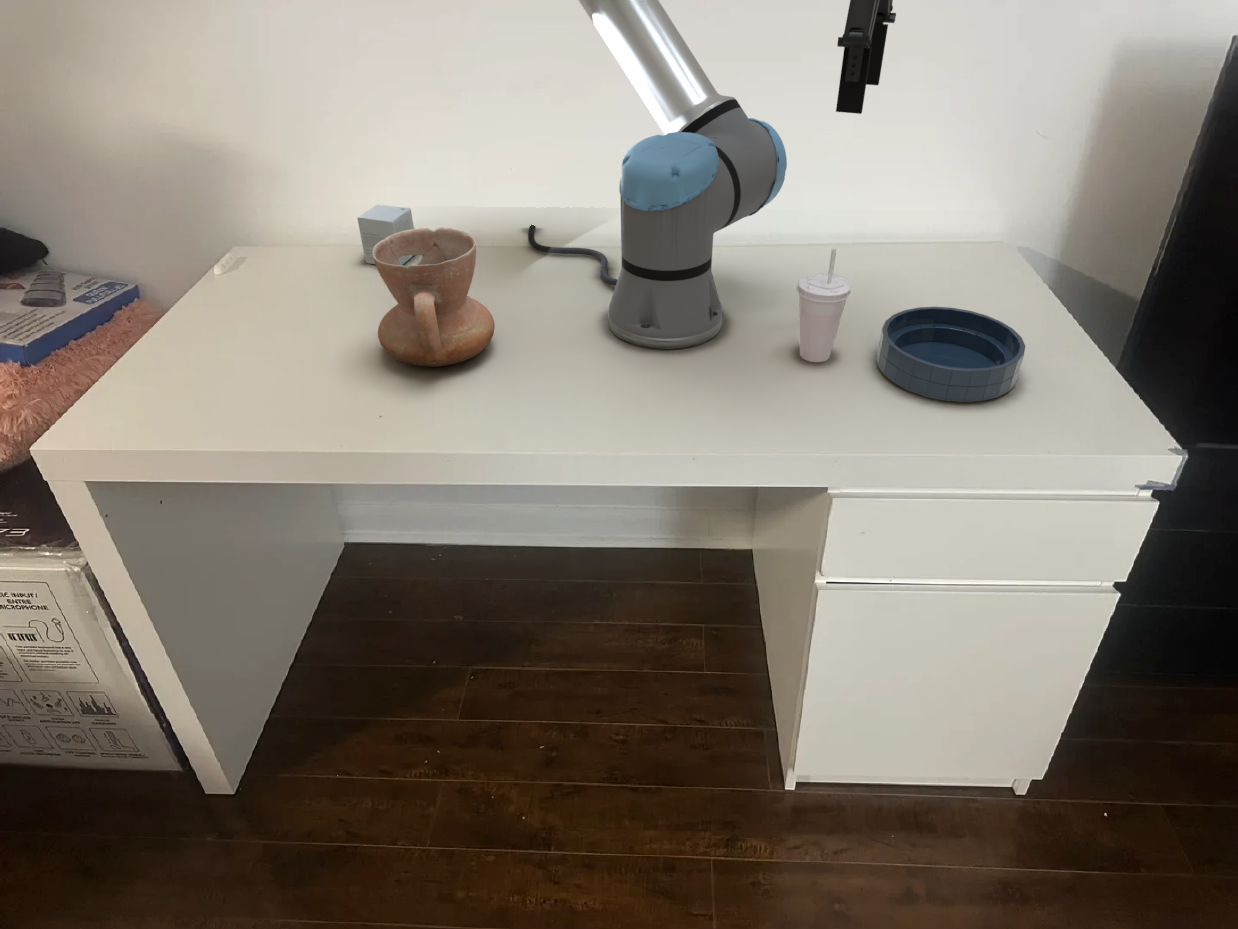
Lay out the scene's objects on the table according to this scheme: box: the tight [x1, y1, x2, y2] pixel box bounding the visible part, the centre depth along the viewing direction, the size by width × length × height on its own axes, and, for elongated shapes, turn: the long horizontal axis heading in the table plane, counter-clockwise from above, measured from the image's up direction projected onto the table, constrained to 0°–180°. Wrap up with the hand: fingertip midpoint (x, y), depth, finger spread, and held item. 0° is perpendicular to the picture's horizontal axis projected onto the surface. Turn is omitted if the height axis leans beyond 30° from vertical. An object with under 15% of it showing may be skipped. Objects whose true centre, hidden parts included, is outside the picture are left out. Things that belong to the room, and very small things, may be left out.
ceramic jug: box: [372, 227, 495, 368], centre depth 107 cm, size 18×14×14 cm
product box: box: [357, 204, 415, 266], centre depth 134 cm, size 6×6×7 cm
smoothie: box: [796, 248, 852, 363], centre depth 106 cm, size 6×6×14 cm
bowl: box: [876, 306, 1026, 403], centre depth 105 cm, size 16×16×4 cm
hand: (858, 97), depth 100 cm, fingers open, 13 cm apart
